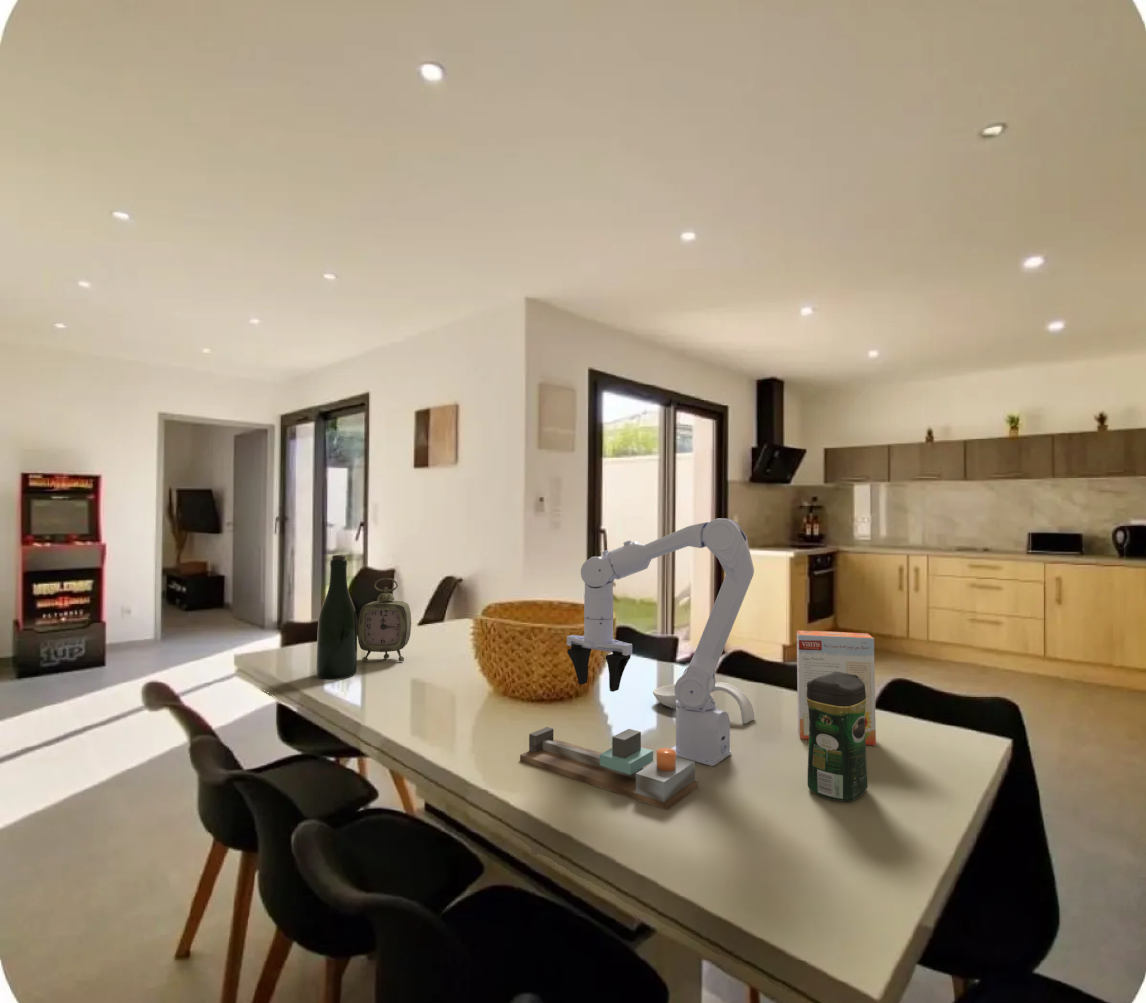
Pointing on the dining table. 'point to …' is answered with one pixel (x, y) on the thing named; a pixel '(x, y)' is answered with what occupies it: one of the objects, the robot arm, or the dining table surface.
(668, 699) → the spoon rest
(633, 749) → the carriage
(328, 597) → the green wine bottle
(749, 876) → the dining table surface
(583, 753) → the rail board
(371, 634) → the tabletop clock
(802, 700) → the cracker box
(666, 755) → the button
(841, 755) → the coffee jar
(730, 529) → the robot arm
